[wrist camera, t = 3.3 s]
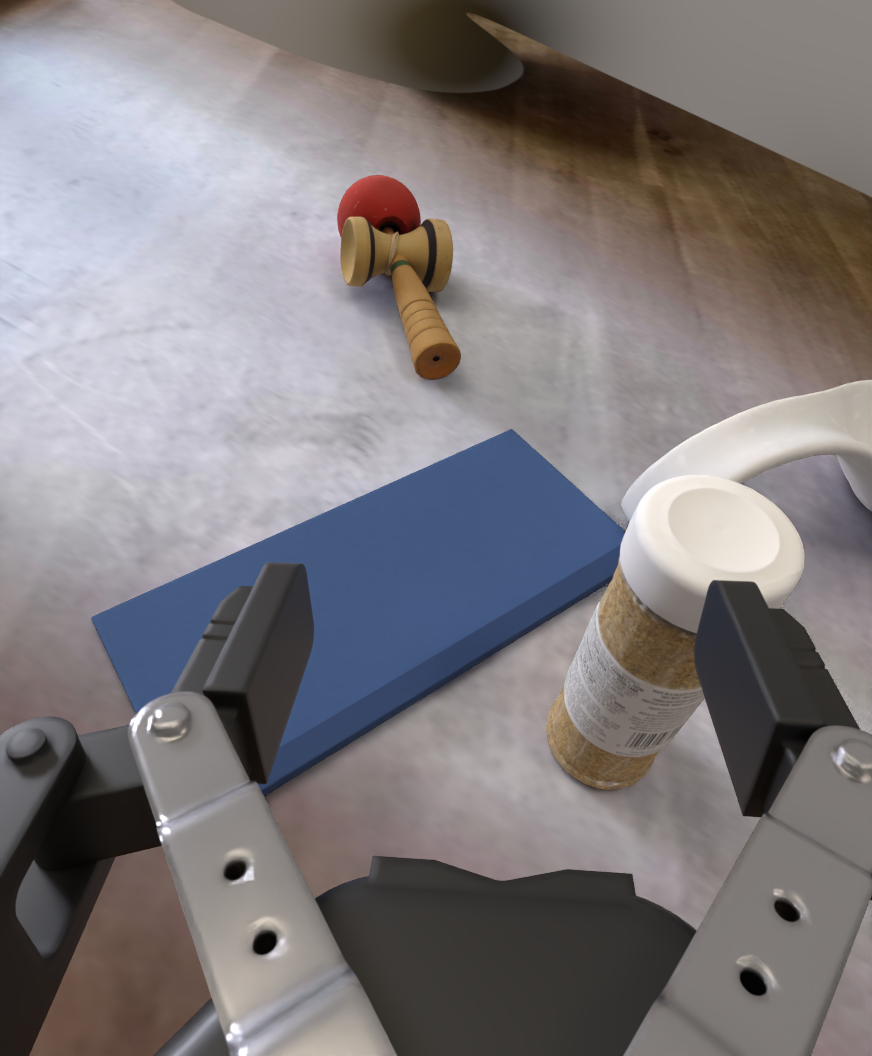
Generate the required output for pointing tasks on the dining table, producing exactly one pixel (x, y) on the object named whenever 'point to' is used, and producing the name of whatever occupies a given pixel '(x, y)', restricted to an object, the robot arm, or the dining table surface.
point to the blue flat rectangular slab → (391, 591)
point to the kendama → (401, 263)
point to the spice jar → (663, 622)
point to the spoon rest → (776, 442)
